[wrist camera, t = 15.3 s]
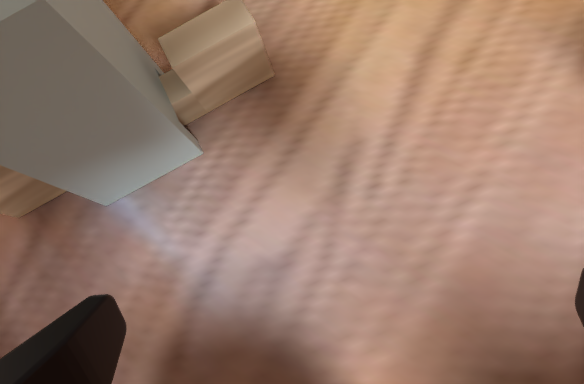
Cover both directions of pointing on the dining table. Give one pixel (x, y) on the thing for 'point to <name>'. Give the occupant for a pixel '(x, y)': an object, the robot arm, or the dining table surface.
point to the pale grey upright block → (83, 101)
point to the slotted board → (179, 83)
